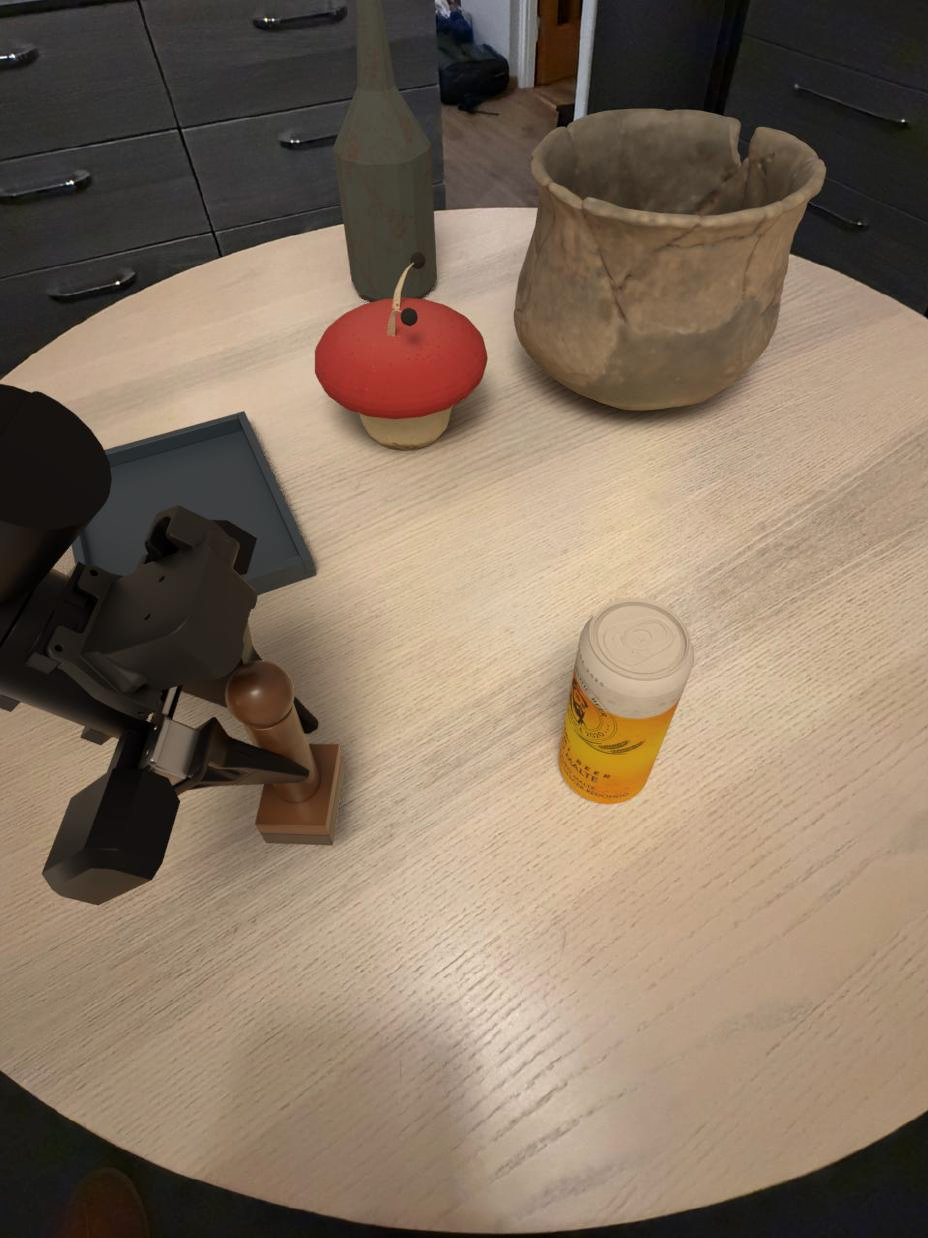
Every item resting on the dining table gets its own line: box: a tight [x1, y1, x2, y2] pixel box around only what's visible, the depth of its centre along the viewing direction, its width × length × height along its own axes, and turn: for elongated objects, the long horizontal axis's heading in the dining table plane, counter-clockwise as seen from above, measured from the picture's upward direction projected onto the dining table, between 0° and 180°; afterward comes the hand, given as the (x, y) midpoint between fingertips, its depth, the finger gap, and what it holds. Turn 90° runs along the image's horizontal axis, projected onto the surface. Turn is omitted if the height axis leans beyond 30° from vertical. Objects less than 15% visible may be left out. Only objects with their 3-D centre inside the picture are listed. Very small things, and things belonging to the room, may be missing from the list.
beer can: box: [558, 596, 695, 805], centre depth 45 cm, size 6×6×15 cm
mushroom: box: [314, 252, 489, 451], centre depth 68 cm, size 16×16×15 cm
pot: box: [513, 108, 827, 412], centre depth 70 cm, size 25×24×21 cm
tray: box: [71, 410, 317, 596], centre depth 65 cm, size 18×22×2 cm
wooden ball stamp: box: [225, 659, 346, 846], centre depth 40 cm, size 5×4×14 cm
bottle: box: [332, 0, 438, 303], centre depth 79 cm, size 10×10×30 cm
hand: (310, 752), depth 40 cm, fingers closed on wooden ball stamp, 2 cm apart
